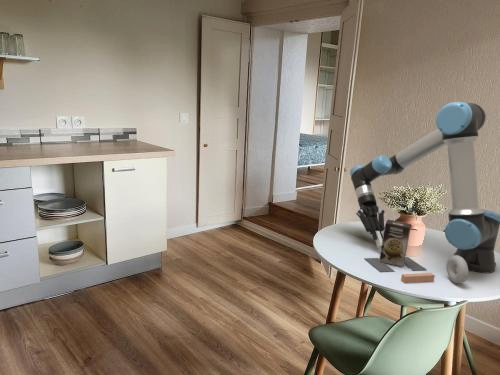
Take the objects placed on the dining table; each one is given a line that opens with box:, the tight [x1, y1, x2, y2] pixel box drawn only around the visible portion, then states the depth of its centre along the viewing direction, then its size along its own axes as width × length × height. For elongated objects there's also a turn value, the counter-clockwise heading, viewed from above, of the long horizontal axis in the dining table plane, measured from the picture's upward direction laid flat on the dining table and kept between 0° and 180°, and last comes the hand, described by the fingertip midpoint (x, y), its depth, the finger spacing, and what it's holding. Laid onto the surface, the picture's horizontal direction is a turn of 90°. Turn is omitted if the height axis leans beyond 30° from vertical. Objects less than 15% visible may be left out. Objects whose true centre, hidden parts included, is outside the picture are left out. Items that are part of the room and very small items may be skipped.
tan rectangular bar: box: [400, 272, 435, 284], centre depth 140 cm, size 12×2×2 cm, turn 103°
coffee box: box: [378, 219, 412, 268], centre depth 153 cm, size 9×6×16 cm
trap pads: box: [364, 256, 428, 273], centre depth 153 cm, size 20×12×1 cm, turn 103°
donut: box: [445, 254, 469, 284], centre depth 141 cm, size 10×4×10 cm, turn 4°
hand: (380, 246), depth 163 cm, fingers closed
